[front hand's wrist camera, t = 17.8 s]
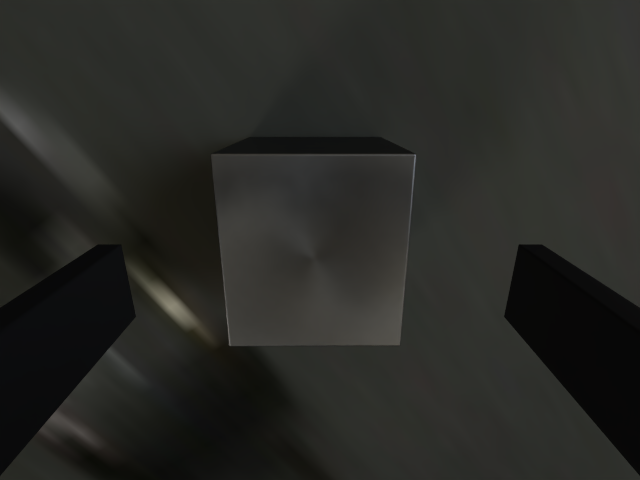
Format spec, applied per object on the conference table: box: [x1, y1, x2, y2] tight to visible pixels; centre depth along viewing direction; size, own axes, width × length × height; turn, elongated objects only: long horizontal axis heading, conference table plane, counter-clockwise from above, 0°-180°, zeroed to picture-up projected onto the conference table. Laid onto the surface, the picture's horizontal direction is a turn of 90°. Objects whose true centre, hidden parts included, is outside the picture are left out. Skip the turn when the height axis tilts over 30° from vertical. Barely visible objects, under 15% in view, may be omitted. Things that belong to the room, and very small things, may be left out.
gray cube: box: [211, 137, 416, 346], centre depth 19 cm, size 8×8×8 cm
